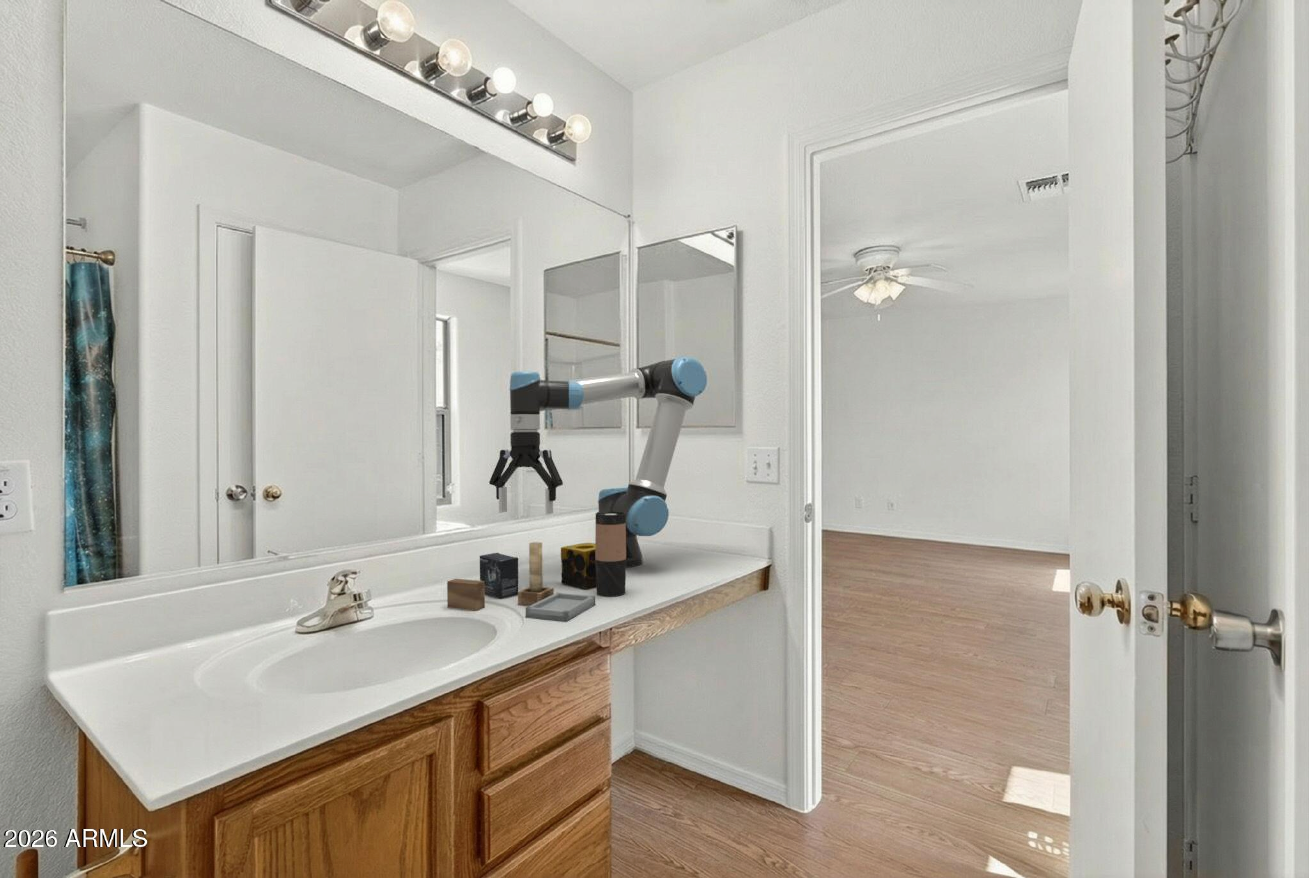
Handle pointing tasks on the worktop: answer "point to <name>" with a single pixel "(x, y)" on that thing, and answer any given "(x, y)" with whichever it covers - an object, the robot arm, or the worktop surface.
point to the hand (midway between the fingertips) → (525, 513)
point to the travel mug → (610, 553)
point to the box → (499, 575)
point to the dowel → (535, 567)
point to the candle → (579, 565)
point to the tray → (560, 606)
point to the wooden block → (466, 594)
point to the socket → (533, 596)
